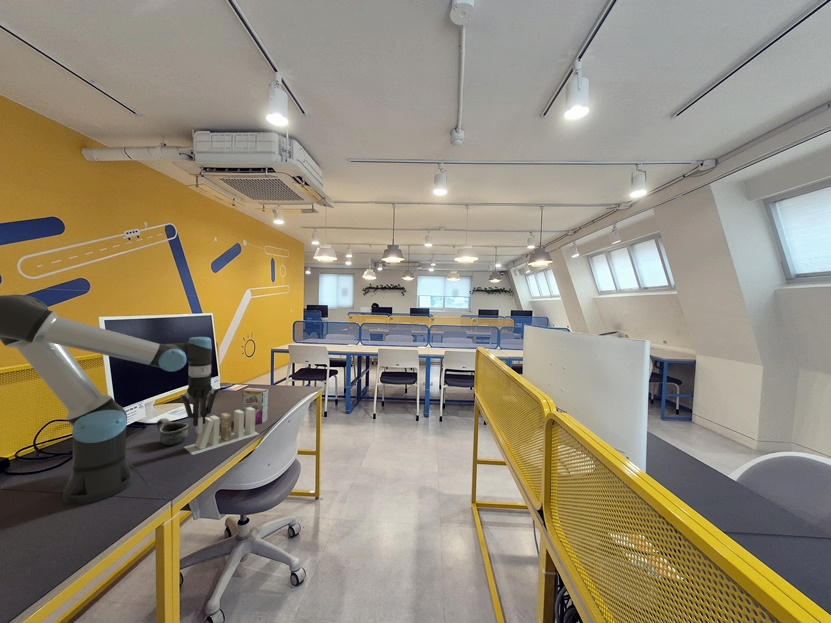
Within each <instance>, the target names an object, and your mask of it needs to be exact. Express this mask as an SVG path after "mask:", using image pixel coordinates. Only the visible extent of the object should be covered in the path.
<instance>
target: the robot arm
mask: <svg viewBox="0 0 831 623" xmlns="http://www.w3.org/2000/svg"><path fill="white" fill-rule="evenodd" d="M0 341H1V343H2V344H3V345H4V346H5V347H8V348H13V349H16V350H18V351H19V353H20V354H21V355H22V356H23V358H24V359H25V360H26V361H27V363H29V365H30V366H31V367H32V369H34V371H35V372H36V374H38V376H39V377H40V378H41V379H42V380H43V381H44V383H45V384H46V385H47V387H48V388H49V389H50V390H51V391H52V392H53V394H54V395H55V396H56V397H57V399H58V400H59V401H60V402H61V404H63V406H64V407H65V408H66V409H67V412H68V413H67V416H66V417H65V419H66V420H67V421H68V422H69V424H70V425H71V426H72V427H73V428H72V431H71V434H72V471H71V473H70V476H69V478H68V481H67V483H66V485H65V488H64V490H63V493H62V501H63V502H64V503H65V504H67V505H72V506H73V505H85V504H90V503H91V504H92V503H95V502H98V501H101V500H102V501H103V500H105V499H107V498H110V497H112V496H114V495H117V494H119V493H121V492H122V491H124V490H127V488H128V487H130V486H131V485H132V482H133V473H132V470H131V468H130V466H129V464H128V462H127V460H126V453H127V452H126V449H127V448H126V447H127V446H126V445H127V444H126V443H127V441H126V440H127V425H128V415H127V412H126V409H124V407H122V406H121V405H119V404H118V403H117V401H115V400H114V398H113V397H112V396H111V395H109V394H108V395H106V394H105V395H104V394H102V392H101V391H100V390H99V388H98V387H97V386H96V385H95V383H94V381H92V379H91V378H90V376H89V375H88V374H87V372H85V370H84V369H83V368H82V365H80V364H79V362H78V361H77V359H76V358H75V357H74V356H73V354H72V353H71V352H70V351H69V349H68V348H73V349H76V350H77V349H78V350H82V351H86V352H90V353H95V354H97V355H98V354H100V355H104V356H109V357H113V358H117V359H121V360H124V361H125V360H126V361H131V362H135V363H140V364H144V365H148V366H152V367H156V368H160V369H161V370H163V371H166V372H177V371H179V370H181V369H182V368H184V366H186V364H187V363H188V379H187V380H188V384H187V386H188V387H187V389H186V392H184V393H183V394H181V395H179V397H180V399H181V400H182V401H183V402H182V403H183V405H184V408H185V412H186V416H187V417H188V418H190V419H192V425H193V426H194V427H195V433H196V434H197V435H198V434H201V433H202V430H203V424H205V417H206V418H207V415H210V414H211V412H212V409H213V406H214V402H215V398H216V395H217V394H218V392H219V390H218V389H216V388H213V386H212V374H211V373H212V349H213V348H212V346H213V345H212V339H211V338H210V337H208V336H196V337H195V336H194V337H193V336H192V337H190V338H189V339H188V341H187V342H182V343H178V342H177V343H157V342H154V341H150V340H146V339H143V338H139V337H135V336H132V335H128V334H125V333H122V332H121V333H120V332H116V331H112V330H109V329H105V328H101V327H98V326H94V325H91V324H86V323H83V322H80V321H75V320H72V319H69V318H65V317H61V316H59V315H58V314H57V313H56V311H53V310H49V308H48V306H47V305H46V303H45V302H43V301H41V299H40V300H39V299H37V298H36V297H32V296H30V295H26V294H25V295H24V294H7V295H6V294H5V295H4V294H3V295H0ZM208 395H209V397H208V398H207V396H208ZM189 396H190V397H191V398H192V407H191V403H190V400H189ZM207 399H208V400H207ZM199 405H200V406H199ZM199 407H200V408H199Z"/></svg>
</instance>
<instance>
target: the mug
mask: <svg viewBox="0 0 831 623" xmlns="http://www.w3.org/2000/svg"><path fill="white" fill-rule="evenodd" d="M188 427H189V424H188V423H187V422H185V423H184V422H175V421H174V422H173V421H170V419H168V418H167V417H162V418H160V419H158V420H157V421H156V428H157V430H158V431H159V432H160V435H159V440H160V443H161V444H163V445H165V446H173V445H178V444H180V443H182V442H183V441H185V440H186V439H187V437H188V434H189V433H188V432H189V431H188Z"/></svg>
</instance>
